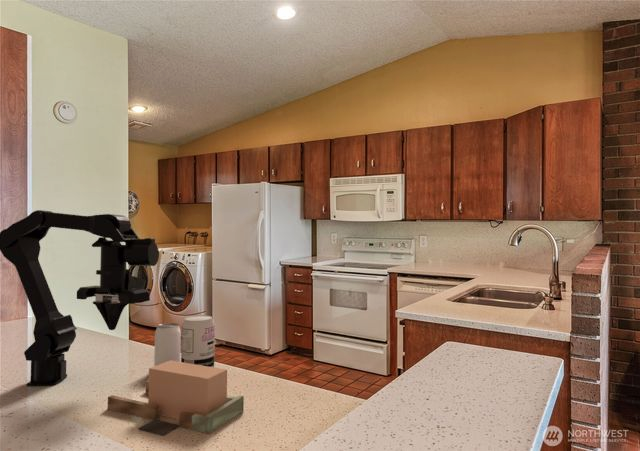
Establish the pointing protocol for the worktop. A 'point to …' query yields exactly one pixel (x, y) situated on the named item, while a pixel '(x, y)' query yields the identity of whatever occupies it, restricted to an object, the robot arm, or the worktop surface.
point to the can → (167, 343)
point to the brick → (187, 388)
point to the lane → (185, 418)
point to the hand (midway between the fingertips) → (112, 329)
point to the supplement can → (198, 340)
